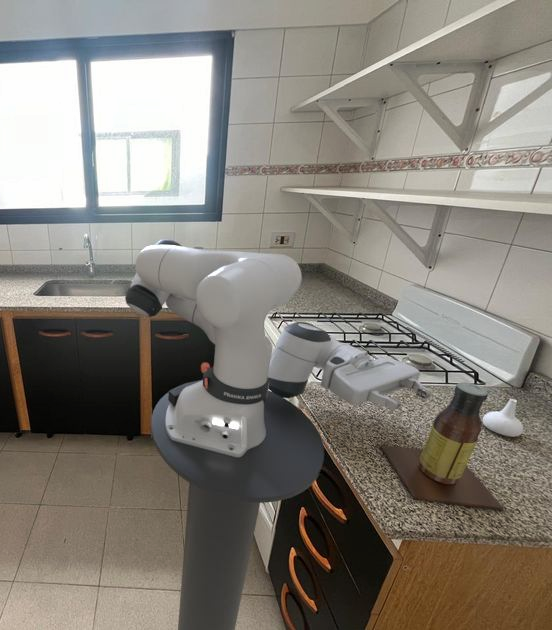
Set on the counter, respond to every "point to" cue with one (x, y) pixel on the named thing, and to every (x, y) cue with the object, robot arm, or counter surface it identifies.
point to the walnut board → (426, 488)
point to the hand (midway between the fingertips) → (413, 400)
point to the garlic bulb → (504, 421)
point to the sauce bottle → (454, 435)
